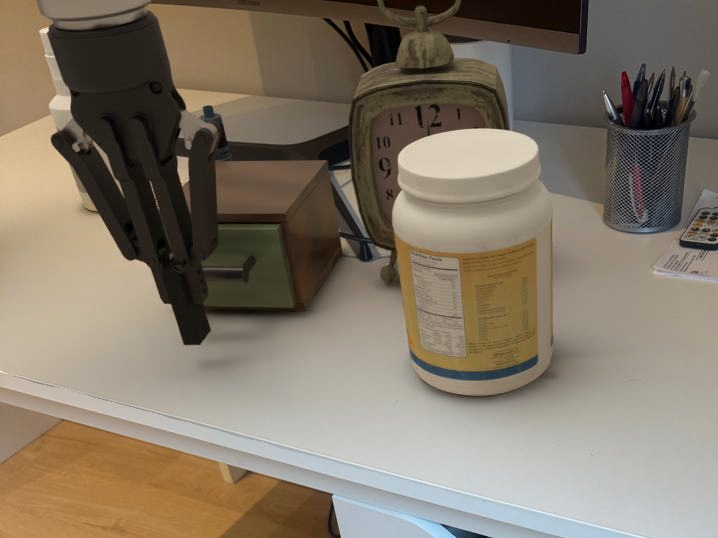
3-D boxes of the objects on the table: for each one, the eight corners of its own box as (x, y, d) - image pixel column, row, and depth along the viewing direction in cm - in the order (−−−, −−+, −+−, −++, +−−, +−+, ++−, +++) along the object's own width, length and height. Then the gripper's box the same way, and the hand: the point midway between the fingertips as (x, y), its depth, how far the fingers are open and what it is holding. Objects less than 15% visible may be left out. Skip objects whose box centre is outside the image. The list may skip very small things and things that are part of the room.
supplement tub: (446, 323, 83) (427, 119, 71) (572, 340, 79) (575, 128, 67) (387, 389, 75) (354, 174, 63) (523, 412, 72) (516, 187, 60)
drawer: (280, 327, 82) (262, 247, 77) (165, 325, 84) (139, 246, 79) (330, 252, 94) (316, 178, 88) (226, 252, 95) (207, 178, 90)
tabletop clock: (368, 292, 89) (321, -18, 71) (377, 254, 95) (335, -40, 77) (516, 284, 88) (505, -32, 70) (514, 246, 94) (504, -52, 76)
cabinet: (305, 311, 87) (285, 213, 80) (182, 309, 88) (153, 213, 82) (342, 252, 96) (327, 160, 89) (231, 251, 98) (208, 161, 91)
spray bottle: (106, 190, 114) (49, 20, 101) (152, 193, 112) (99, 21, 99) (72, 210, 109) (8, 36, 97) (119, 214, 108) (60, 37, 95)
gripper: (-15, 32, 60) (110, 357, 77) (167, 25, 58) (254, 360, 75) (39, 6, 65) (145, 316, 82) (208, -1, 64) (281, 318, 80)
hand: (197, 337), depth 79 cm, fingers closed
